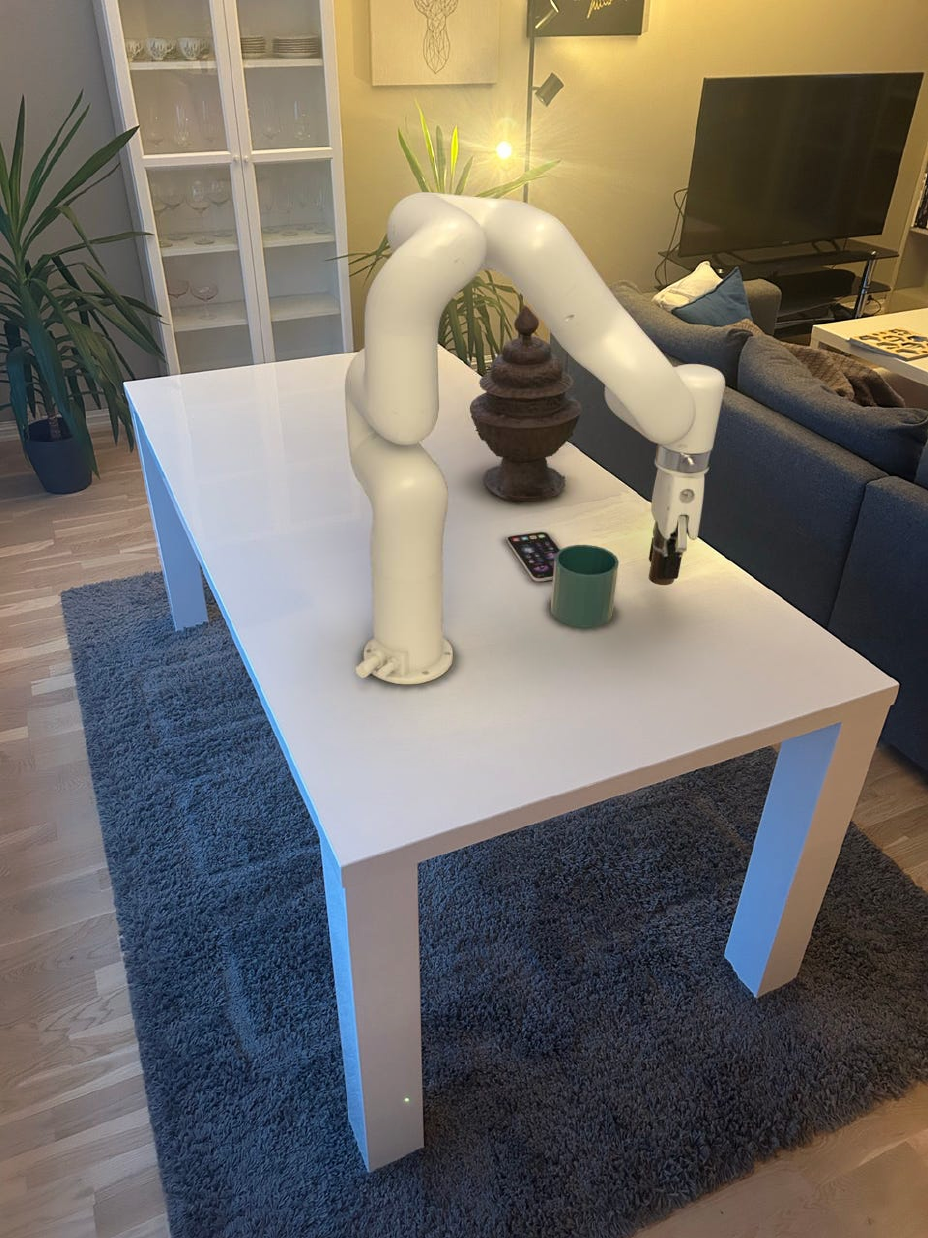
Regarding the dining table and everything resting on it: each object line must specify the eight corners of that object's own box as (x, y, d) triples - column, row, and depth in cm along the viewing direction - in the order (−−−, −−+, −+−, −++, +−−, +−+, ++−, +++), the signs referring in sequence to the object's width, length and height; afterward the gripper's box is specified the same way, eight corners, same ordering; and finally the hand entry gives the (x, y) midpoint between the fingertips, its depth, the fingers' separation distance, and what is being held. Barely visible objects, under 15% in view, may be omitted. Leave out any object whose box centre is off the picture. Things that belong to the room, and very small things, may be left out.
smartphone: (545, 530, 166) (578, 573, 154) (545, 533, 167) (578, 576, 155) (504, 536, 164) (534, 579, 152) (504, 539, 165) (534, 582, 153)
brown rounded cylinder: (669, 589, 141) (682, 520, 135) (641, 580, 143) (653, 512, 137) (680, 577, 144) (693, 509, 138) (653, 568, 146) (664, 501, 140)
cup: (596, 634, 141) (602, 582, 136) (540, 615, 145) (543, 564, 140) (622, 606, 148) (628, 555, 143) (567, 588, 152) (572, 538, 147)
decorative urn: (598, 477, 185) (602, 294, 165) (547, 523, 171) (544, 331, 151) (509, 456, 195) (502, 282, 174) (453, 499, 181) (439, 315, 161)
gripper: (726, 481, 126) (702, 599, 136) (694, 433, 140) (673, 543, 150) (670, 481, 126) (650, 598, 135) (643, 432, 140) (626, 542, 150)
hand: (662, 568), depth 143 cm, fingers closed on brown rounded cylinder, 4 cm apart
